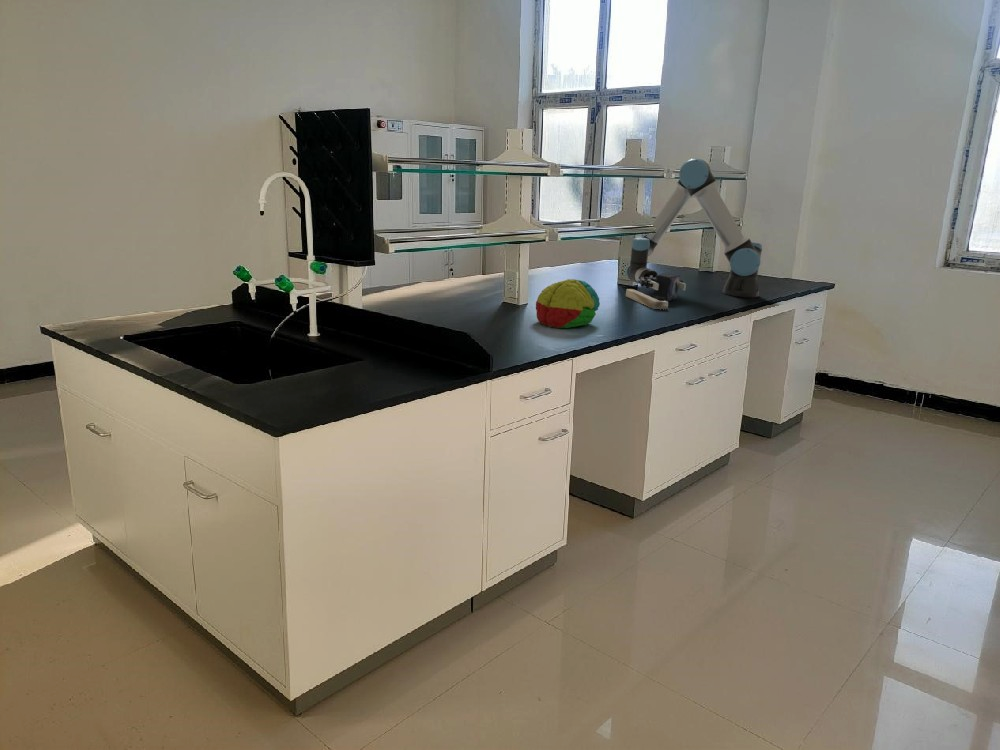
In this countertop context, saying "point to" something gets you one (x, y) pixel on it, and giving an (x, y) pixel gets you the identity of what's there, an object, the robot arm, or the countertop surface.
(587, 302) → the brain model
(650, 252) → the robot arm
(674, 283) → the small box
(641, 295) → the bar
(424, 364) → the countertop surface
